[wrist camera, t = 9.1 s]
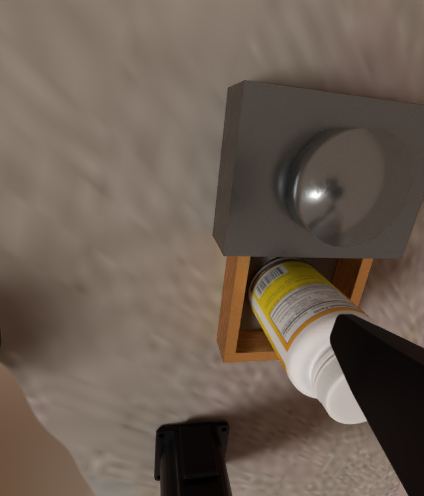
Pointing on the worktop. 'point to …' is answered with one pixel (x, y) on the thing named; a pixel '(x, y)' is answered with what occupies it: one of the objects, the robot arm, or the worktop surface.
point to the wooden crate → (312, 190)
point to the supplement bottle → (306, 331)
